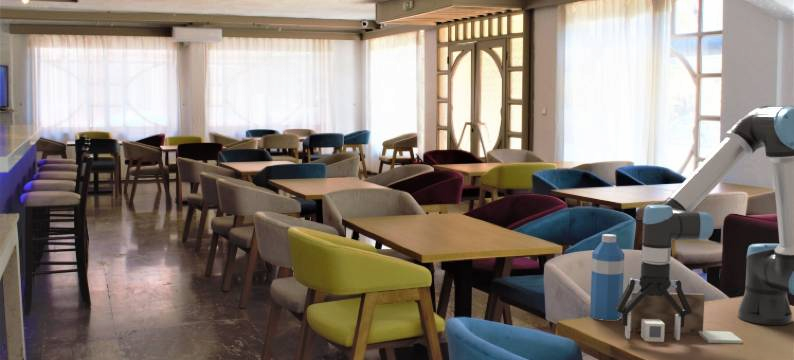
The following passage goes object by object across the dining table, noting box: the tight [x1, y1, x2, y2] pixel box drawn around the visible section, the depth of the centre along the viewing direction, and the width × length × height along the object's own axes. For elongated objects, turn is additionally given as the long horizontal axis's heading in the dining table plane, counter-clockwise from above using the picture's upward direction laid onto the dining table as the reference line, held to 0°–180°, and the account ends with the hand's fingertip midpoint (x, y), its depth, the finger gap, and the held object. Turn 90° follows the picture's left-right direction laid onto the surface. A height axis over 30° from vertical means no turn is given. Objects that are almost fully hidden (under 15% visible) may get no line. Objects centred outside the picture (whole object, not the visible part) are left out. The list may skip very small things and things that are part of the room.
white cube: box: [640, 319, 665, 343], centre depth 240 cm, size 5×5×5 cm
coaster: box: [698, 330, 743, 344], centre depth 242 cm, size 9×9×1 cm
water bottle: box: [589, 233, 625, 321], centre depth 263 cm, size 9×9×25 cm
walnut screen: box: [630, 291, 705, 335], centre depth 248 cm, size 20×4×11 cm, turn 88°
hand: (652, 338), depth 241 cm, fingers open, 13 cm apart
